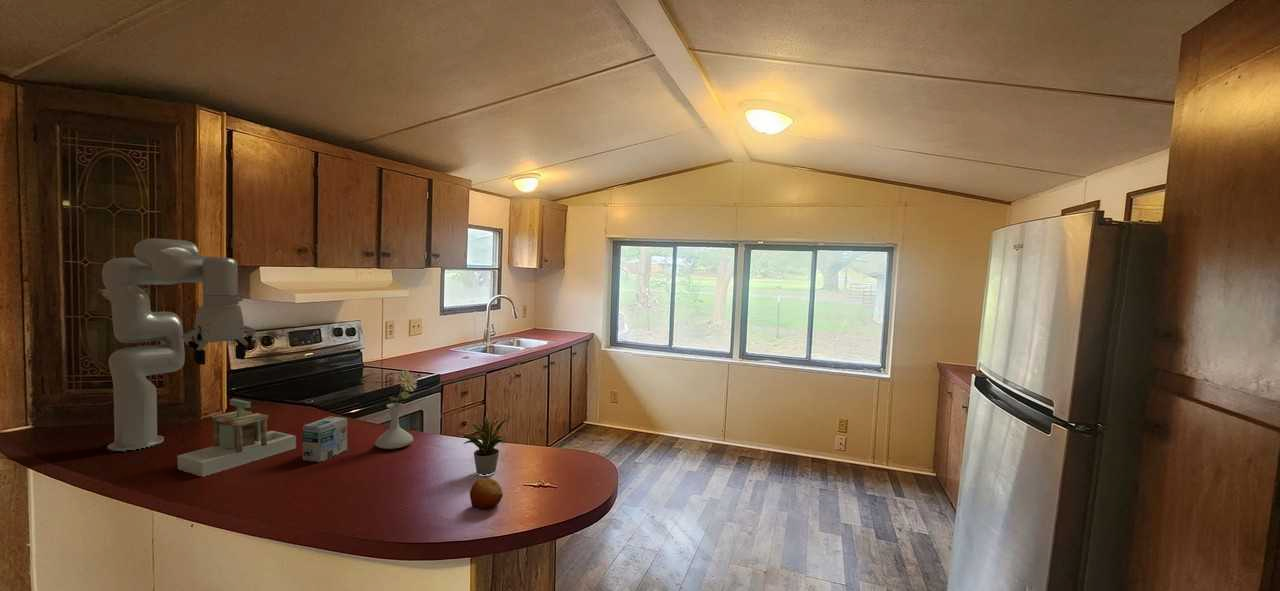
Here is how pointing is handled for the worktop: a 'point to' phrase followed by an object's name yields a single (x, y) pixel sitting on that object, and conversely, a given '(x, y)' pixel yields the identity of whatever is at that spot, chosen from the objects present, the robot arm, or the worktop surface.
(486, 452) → the house plant
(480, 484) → the fruit
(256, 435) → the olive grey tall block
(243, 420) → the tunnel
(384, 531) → the worktop surface
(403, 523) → the worktop surface
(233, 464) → the white rectangular tray
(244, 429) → the block
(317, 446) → the light bulb box
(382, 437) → the flower in vase
